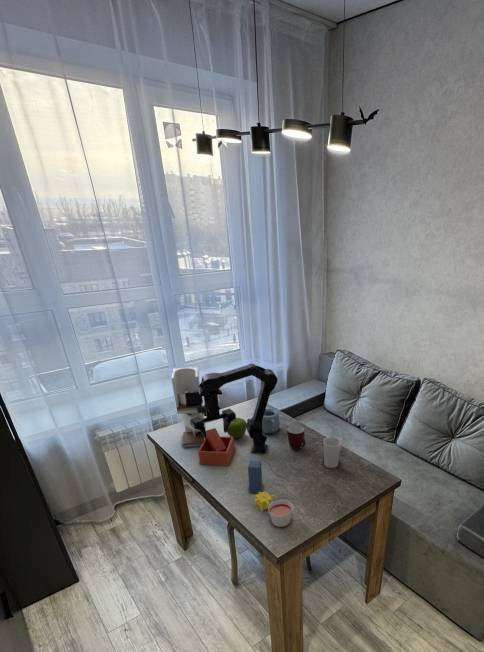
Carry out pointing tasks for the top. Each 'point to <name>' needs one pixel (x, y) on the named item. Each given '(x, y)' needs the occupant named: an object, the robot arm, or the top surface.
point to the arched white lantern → (185, 382)
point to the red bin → (216, 457)
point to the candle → (280, 512)
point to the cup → (331, 451)
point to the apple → (237, 428)
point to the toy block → (263, 500)
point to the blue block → (255, 476)
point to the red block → (215, 440)
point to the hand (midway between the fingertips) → (215, 435)
